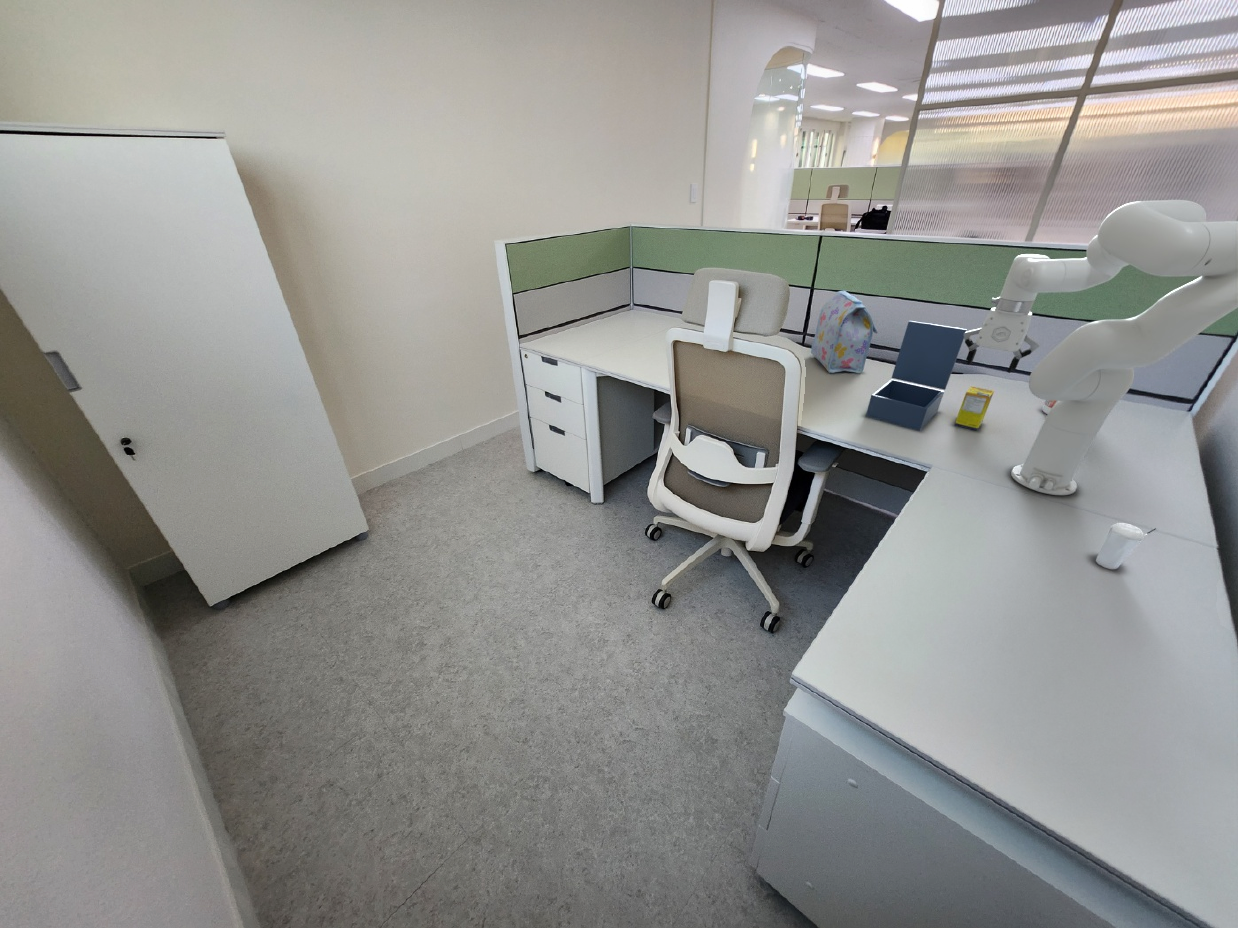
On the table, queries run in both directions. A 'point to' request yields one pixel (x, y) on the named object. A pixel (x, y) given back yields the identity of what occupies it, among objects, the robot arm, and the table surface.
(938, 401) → the box
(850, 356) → the lunch bag
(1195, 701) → the table surface
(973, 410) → the supplement box
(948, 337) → the lunchbox lid
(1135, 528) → the milkshake
